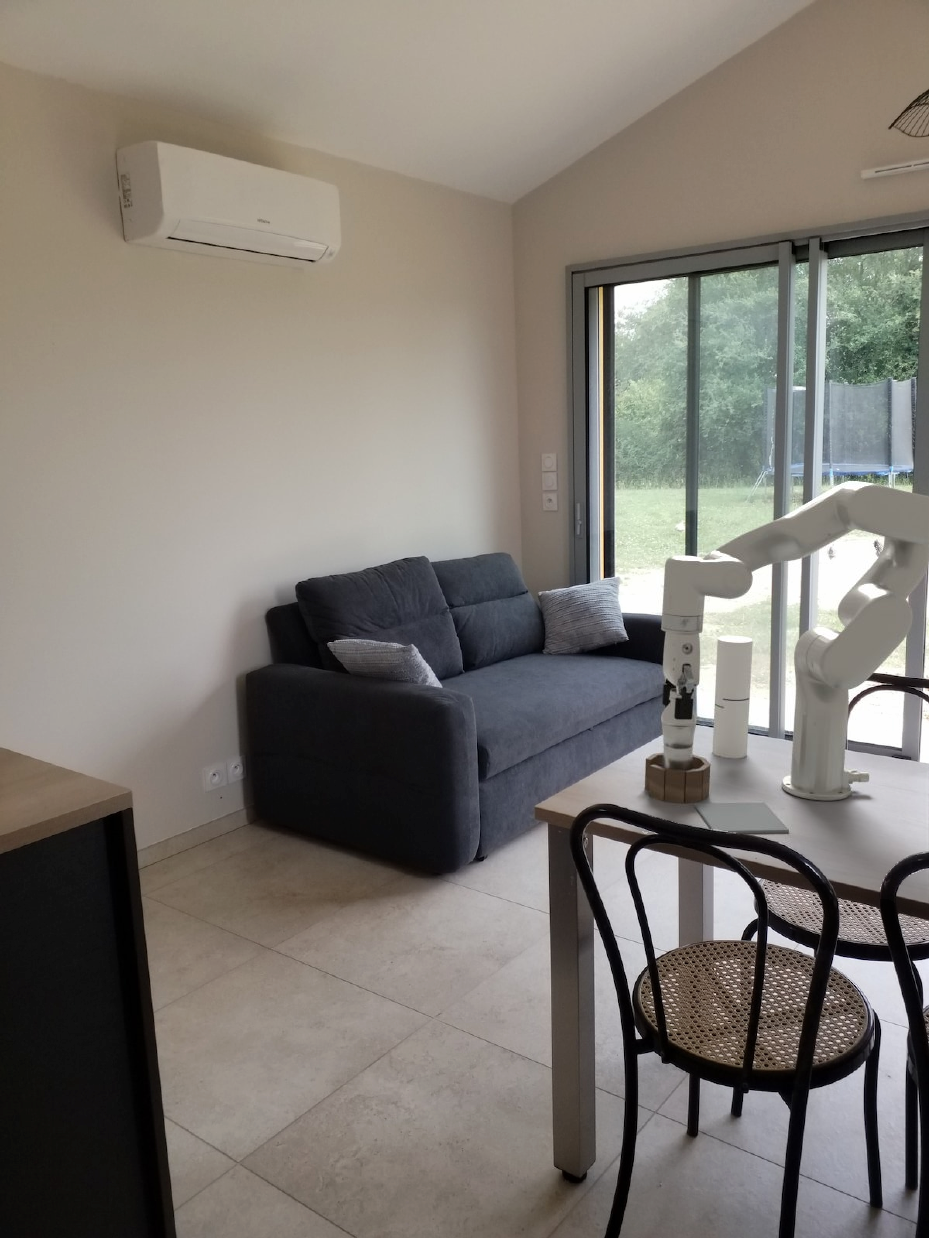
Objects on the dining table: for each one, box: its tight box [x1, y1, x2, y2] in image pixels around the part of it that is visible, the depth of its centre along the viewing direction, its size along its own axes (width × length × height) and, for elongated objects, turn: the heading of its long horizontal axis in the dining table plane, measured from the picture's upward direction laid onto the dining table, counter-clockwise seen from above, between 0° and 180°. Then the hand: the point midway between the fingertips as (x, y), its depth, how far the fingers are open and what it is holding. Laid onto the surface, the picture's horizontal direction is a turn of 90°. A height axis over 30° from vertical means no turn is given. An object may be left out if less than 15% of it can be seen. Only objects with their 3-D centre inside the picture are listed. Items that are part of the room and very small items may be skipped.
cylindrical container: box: [712, 635, 754, 759], centre depth 213 cm, size 7×7×25 cm
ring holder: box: [644, 752, 711, 804], centre depth 191 cm, size 12×12×6 cm
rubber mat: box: [693, 802, 790, 834], centre depth 178 cm, size 13×13×1 cm
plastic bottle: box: [660, 687, 698, 771], centre depth 190 cm, size 6×7×20 cm
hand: (676, 711), depth 189 cm, fingers open, 9 cm apart
